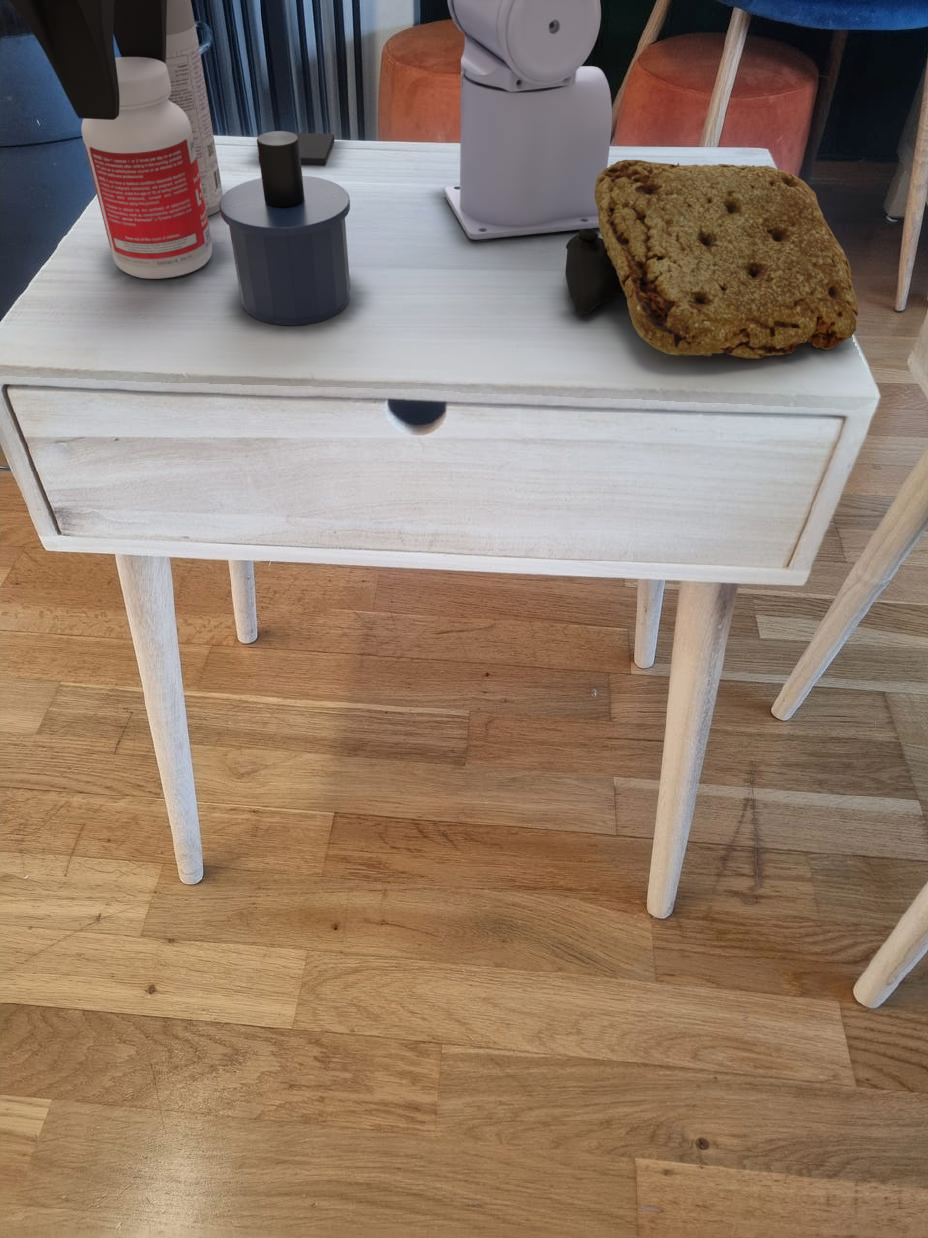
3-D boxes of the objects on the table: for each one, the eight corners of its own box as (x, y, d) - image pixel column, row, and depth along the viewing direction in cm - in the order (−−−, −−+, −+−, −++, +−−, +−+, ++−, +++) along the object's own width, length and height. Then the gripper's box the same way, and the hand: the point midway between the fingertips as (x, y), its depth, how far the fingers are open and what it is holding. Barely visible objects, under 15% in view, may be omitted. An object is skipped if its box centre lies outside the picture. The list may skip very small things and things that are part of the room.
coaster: (334, 140, 77) (334, 133, 77) (325, 165, 74) (324, 158, 73) (271, 138, 77) (270, 131, 77) (259, 163, 74) (258, 156, 74)
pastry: (896, 272, 60) (926, 235, 58) (772, 443, 53) (800, 410, 50) (667, 115, 62) (686, 72, 59) (514, 259, 54) (528, 217, 52)
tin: (356, 275, 61) (349, 187, 58) (342, 327, 57) (334, 235, 53) (254, 272, 62) (241, 184, 58) (232, 323, 57) (216, 231, 53)
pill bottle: (229, 266, 62) (197, 73, 54) (135, 291, 60) (87, 93, 52) (191, 230, 66) (155, 44, 58) (100, 252, 63) (51, 61, 55)
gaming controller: (577, 314, 57) (570, 222, 56) (554, 322, 61) (547, 237, 60) (720, 299, 58) (716, 209, 57) (687, 308, 63) (682, 225, 62)
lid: (358, 195, 58) (353, 115, 55) (341, 249, 53) (335, 165, 50) (237, 191, 58) (225, 112, 55) (209, 245, 53) (194, 161, 50)
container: (186, 186, 71) (139, -64, 60) (238, 200, 69) (199, -55, 58) (141, 210, 68) (83, -49, 57) (194, 225, 66) (145, -38, 56)
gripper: (33, -248, 50) (101, 49, 60) (-113, -215, 40) (-4, 136, 50) (168, -245, 50) (214, 54, 59) (54, -211, 40) (132, 143, 49)
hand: (123, 92), depth 55 cm, fingers open, 7 cm apart
